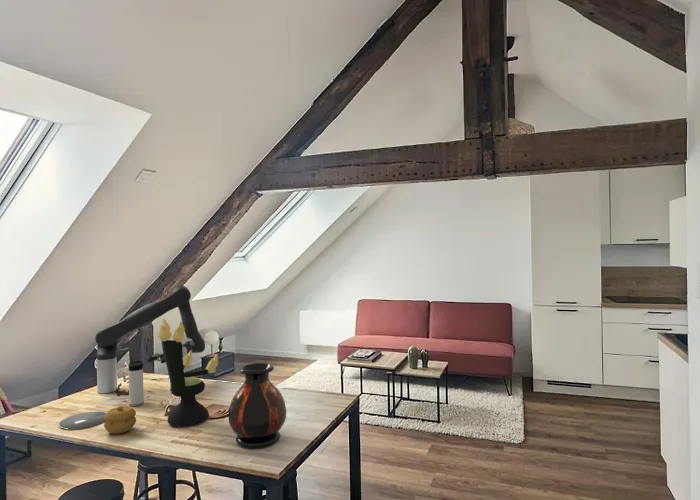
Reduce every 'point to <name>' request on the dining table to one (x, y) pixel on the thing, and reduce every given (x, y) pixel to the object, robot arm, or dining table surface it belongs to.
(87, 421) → the charcoal trivet
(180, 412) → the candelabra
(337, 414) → the dining table surface
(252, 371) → the black and orange vase
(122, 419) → the pot
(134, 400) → the travel mug
